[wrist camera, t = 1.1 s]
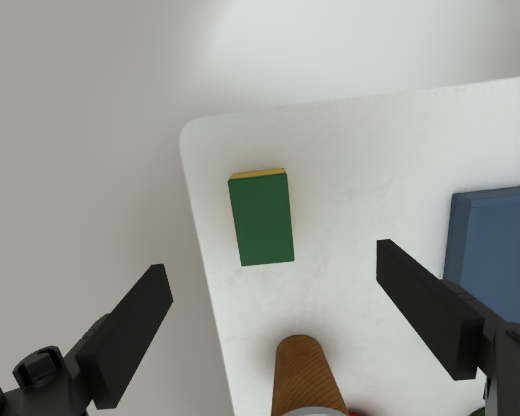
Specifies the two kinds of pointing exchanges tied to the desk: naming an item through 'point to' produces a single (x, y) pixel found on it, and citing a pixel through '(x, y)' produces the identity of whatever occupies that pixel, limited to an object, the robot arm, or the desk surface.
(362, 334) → the desk surface
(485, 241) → the tray
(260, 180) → the sponge
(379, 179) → the desk surface
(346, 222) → the desk surface
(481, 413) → the wine bottle
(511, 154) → the desk surface
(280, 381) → the disposable coffee cup
